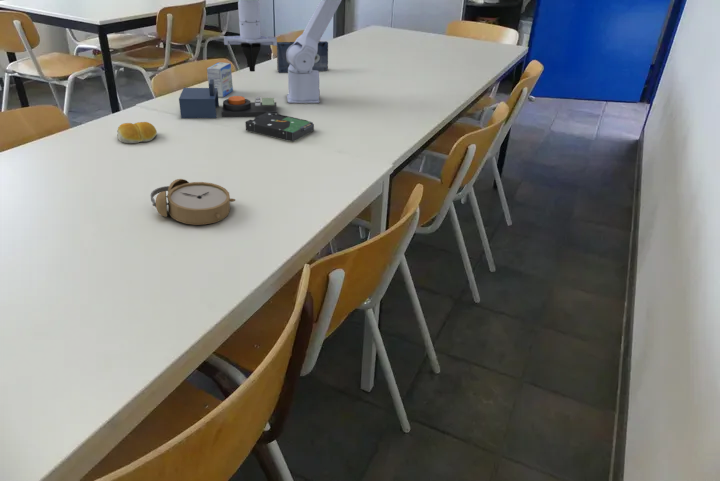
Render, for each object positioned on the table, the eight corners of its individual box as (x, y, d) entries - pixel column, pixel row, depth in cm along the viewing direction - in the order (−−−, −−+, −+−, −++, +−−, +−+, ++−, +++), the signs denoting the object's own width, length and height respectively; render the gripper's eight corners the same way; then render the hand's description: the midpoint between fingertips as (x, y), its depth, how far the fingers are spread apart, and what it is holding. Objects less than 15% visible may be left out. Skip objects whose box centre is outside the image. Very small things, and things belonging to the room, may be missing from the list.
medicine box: (223, 98, 166) (220, 68, 161) (209, 96, 166) (206, 67, 162) (233, 91, 172) (231, 63, 168) (220, 89, 173) (217, 61, 168)
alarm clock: (216, 215, 97) (137, 191, 97) (214, 238, 99) (137, 215, 100) (240, 189, 106) (167, 167, 107) (237, 210, 109) (166, 189, 110)
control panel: (276, 107, 160) (276, 97, 159) (277, 117, 153) (276, 106, 151) (224, 107, 158) (223, 97, 157) (222, 117, 150) (221, 106, 149)
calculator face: (274, 97, 158) (273, 96, 158) (274, 106, 152) (274, 105, 151) (255, 97, 158) (255, 96, 157) (255, 106, 151) (255, 105, 151)
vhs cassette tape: (326, 69, 202) (326, 40, 197) (328, 71, 199) (328, 42, 194) (276, 70, 196) (276, 41, 191) (278, 72, 194) (277, 43, 189)
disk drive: (245, 132, 142) (293, 143, 136) (244, 121, 140) (293, 132, 135) (267, 121, 150) (314, 131, 145) (267, 111, 148) (314, 120, 143)
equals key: (245, 100, 156) (245, 95, 155) (245, 105, 152) (244, 100, 151) (228, 100, 155) (228, 95, 154) (228, 105, 151) (227, 100, 151)
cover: (219, 106, 158) (216, 76, 154) (216, 118, 150) (213, 87, 145) (185, 106, 157) (182, 76, 153) (181, 118, 148) (177, 86, 144)
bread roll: (161, 140, 134) (158, 124, 132) (122, 146, 130) (119, 130, 127) (151, 129, 140) (149, 114, 138) (114, 135, 135) (111, 119, 133)
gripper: (221, 22, 147) (225, 74, 154) (276, 24, 149) (277, 74, 156) (223, 18, 153) (227, 67, 160) (275, 19, 155) (277, 68, 162)
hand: (252, 70), depth 158 cm, fingers closed
